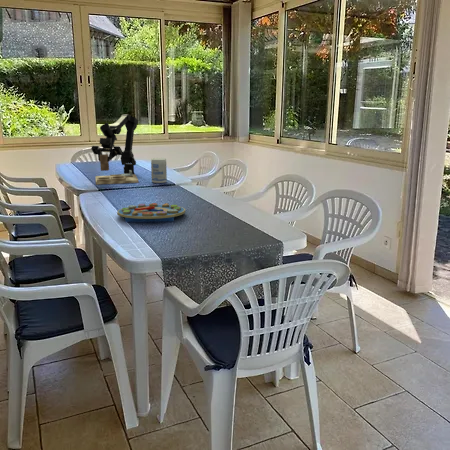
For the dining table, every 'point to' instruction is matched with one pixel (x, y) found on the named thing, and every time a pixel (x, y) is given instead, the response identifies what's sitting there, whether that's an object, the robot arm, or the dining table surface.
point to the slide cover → (127, 174)
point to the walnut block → (104, 162)
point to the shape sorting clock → (151, 212)
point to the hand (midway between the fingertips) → (103, 161)
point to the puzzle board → (116, 179)
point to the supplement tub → (158, 170)
